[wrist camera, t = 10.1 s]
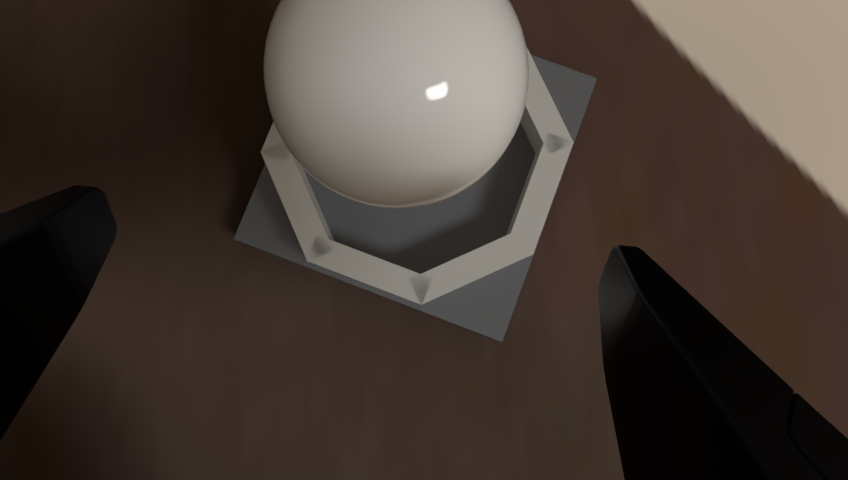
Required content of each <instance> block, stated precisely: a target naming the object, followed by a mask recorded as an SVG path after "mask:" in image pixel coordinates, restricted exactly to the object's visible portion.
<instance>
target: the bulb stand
mask: <svg viewBox="0 0 848 480" xmlns="http://www.w3.org/2000/svg"><path fill="white" fill-rule="evenodd" d="M526 48H527V46H526ZM527 54H528V65H529V82H528V92H527V98H526V103H525V108H524V111H523V115H522V118H521V121H520V123H519V126H518V128H517V131H516V133H515V135H514V137H513V139H512V141H511V142H510V144H509V146H508V147H507V149H506V150H505V152H504V153H503V155H502V156H501V157H500V159H499V160H498V161H497V162H496V164H495V165H494V166H493V167H492V168H491V169H490V170H489V171H488V172H487V173H486V174H485V175H484V176H483V177H482V178H481V179H479V180H478V181H477V182H476V183H474V184H473V185H472V186H470V187H469V188H467V189H466V190H464V191H462V192H461V193H459V194H457V195H455V196H453V197H451V198H449V199H446V200H444V201H441V202H438V203H435V204H432V205H428V206H423V207H418V208H410V209H386V208H378V207H373V206H368V205H364V204H361V203H358V202H355V201H352V200H349V199H347V198H345V197H343V196H341V195H339V194H337V193H335V192H333V191H331V190H330V189H328V188H327V187H325V186H324V185H322V184H321V183H320V182H318V181H317V180H316V179H315V178H313V177H312V176H311V175H310V174H309V173H308V172H307V171H306V170H305V169H304V168H303V167H302V166H301V165H300V164H299V163H298V162H297V160H296V159H295V158H294V157H293V155H292V154H291V153H290V151H289V150H288V148H287V147H286V145H285V144H284V142H283V140H282V138H281V137H280V135H279V133H278V131H277V128H276V126H275V124H274V121H273V124H272V126H271V128H270V131H269V133H268V136H267V138H266V140H265V143H264V145H263V148H262V150H261V151H260V153H261V154H262V156H263V159H264V161H265V165H264V167H263V170H262V172H261V174H260V177H259V179H258V182H257V184H256V186H255V189H254V191H253V194H252V196H251V198H250V201H249V203H248V206H247V208H246V210H245V213H244V215H243V218H242V220H241V222H240V225H239V227H238V230H237V232H236V234H235V237H234V239H235V240H237V241H240V242H243V243H245V244H248V245H250V246H253V247H256V248H258V249H261V250H263V251H266V252H269V253H271V254H274V255H277V256H279V257H282V258H284V259H287V260H290V261H292V262H295V263H297V264H300V265H303V266H305V267H308V268H310V269H313V270H316V271H318V272H321V273H323V274H326V275H329V276H331V277H334V278H336V279H339V280H342V281H344V282H347V283H350V284H352V285H355V286H357V287H360V288H363V289H365V290H368V291H370V292H373V293H376V294H378V295H381V296H383V297H386V298H389V299H391V300H394V301H396V302H399V303H402V304H404V305H407V306H409V307H412V308H415V309H417V310H420V311H423V312H425V313H428V314H430V315H433V316H436V317H438V318H441V319H443V320H446V321H449V322H451V323H454V324H456V325H459V326H462V327H464V328H467V329H469V330H472V331H475V332H477V333H480V334H482V335H485V336H488V337H490V338H493V339H496V340H498V341H501V342H502V341H503V338H504V335H505V332H506V330H507V327H508V324H509V321H510V319H511V316H512V313H513V310H514V308H515V305H516V302H517V299H518V296H519V294H520V291H521V288H522V285H523V283H524V280H525V277H526V274H527V271H528V269H529V266H530V263H531V260H532V258H533V255H534V252H535V249H536V247H537V244H538V241H539V238H540V235H541V233H542V230H543V227H544V224H545V222H546V219H547V216H548V213H549V210H550V208H551V205H552V202H553V199H554V197H555V194H556V191H557V188H558V186H559V183H560V180H561V177H562V174H563V172H564V169H565V166H566V163H567V161H568V158H569V155H570V152H571V150H572V147H573V144H574V141H575V138H576V136H577V133H578V130H579V127H580V125H581V122H582V119H583V116H584V113H585V111H586V108H587V105H588V102H589V100H590V97H591V94H592V91H593V89H594V86H595V83H596V80H597V78H594V77H592V76H589V75H586V74H583V73H581V72H578V71H575V70H572V69H569V68H567V67H564V66H561V65H558V64H555V63H553V62H550V61H547V60H544V59H541V58H539V57H536V56H533V55H530V53H529V51H528V49H527Z"/></svg>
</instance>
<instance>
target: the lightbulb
mask: <svg viewBox="0 0 848 480" xmlns="http://www.w3.org/2000/svg"><path fill="white" fill-rule="evenodd" d="M263 74H264V86H265V93H266V98H267V102H268V106H269V110H270V113H271V116H272V119H273V121H274V124H275V126H276V128H277V131H278V133H279V135H280V137H281V138H282V140H283V142H284V144H285V145H286V147H287V148H288V150H289V151H290V153H291V154H292V155H293V157H294V158H295V159H296V160H297V162H298V163H299V164H300V165H301V166H302V167H303V168H304V169H305V170H306V171H307V172H308V173H309V174H310V175H311V176H312V177H313V178H315V179H316V180H317V181H318V182H320V183H321V184H322V185H324V186H325V187H327V188H328V189H330V190H331V191H333V192H335V193H337V194H339V195H341V196H343V197H345V198H347V199H349V200H352V201H355V202H358V203H361V204H364V205H368V206H373V207H378V208H386V209H410V208H418V207H423V206H428V205H432V204H435V203H438V202H441V201H444V200H446V199H449V198H451V197H453V196H455V195H457V194H459V193H461V192H462V191H464V190H466V189H467V188H469V187H470V186H472V185H473V184H474V183H476V182H477V181H478V180H479V179H481V178H482V177H483V176H484V175H485V174H486V173H487V172H488V171H489V170H490V169H491V168H492V167H493V166H494V165H495V164H496V162H497V161H498V160H499V159H500V157H501V156H502V155H503V153H504V152H505V150H506V149H507V147H508V146H509V144H510V142H511V141H512V139H513V137H514V135H515V133H516V131H517V128H518V126H519V123H520V121H521V118H522V115H523V111H524V108H525V103H526V98H527V92H528V82H529V65H528V54H527V48H526V43H525V38H524V34H523V31H522V28H521V25H520V22H519V19H518V17H517V15H516V12H515V10H514V8H513V6H512V4H511V2H510V1H509V0H281V1H280V2H279V4H278V6H277V8H276V11H275V13H274V15H273V18H272V21H271V24H270V27H269V30H268V34H267V38H266V43H265V50H264V61H263Z"/></svg>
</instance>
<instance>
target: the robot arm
mask: <svg viewBox="0 0 848 480" xmlns="http://www.w3.org/2000/svg"><path fill="white" fill-rule="evenodd" d="M116 233H117V225H116V222H115V219H114V216H113V213H112V211H111V208H110V205H109V203H108V200H107V197H106V195H105V193H104V192H103V191H102V190H101V189H100V188H98V187H90V186H81V185H76V186H72V187H69V188H67V189H64V190H62V191H59V192H56V193H54V194H51V195H49V196H46V197H43V198H41V199H38V200H36V201H33V202H30V203H28V204H25V205H23V206H20V207H17V208H15V209H12V210H10V211H7V212H4V213H2V214H0V441H1V439H2V437H3V436H4V434H5V432H6V431H7V429H8V428H9V426H10V424H11V423H12V421H13V420H14V418H15V416H16V415H17V413H18V411H19V410H20V408H21V407H22V405H23V403H24V402H25V400H26V398H27V397H28V395H29V394H30V392H31V390H32V389H33V387H34V386H35V384H36V382H37V381H38V379H39V377H40V376H41V374H42V373H43V371H44V369H45V368H46V366H47V364H48V363H49V361H50V360H51V358H52V356H53V355H54V353H55V351H56V350H57V348H58V347H59V345H60V343H61V342H62V340H63V339H64V337H65V335H66V334H67V332H68V330H69V329H70V327H71V326H72V324H73V322H74V321H75V319H76V317H77V316H78V314H79V312H80V310H81V309H82V307H83V305H84V303H85V301H86V299H87V297H88V295H89V293H90V291H91V289H92V287H93V285H94V282H95V280H96V278H97V276H98V274H99V272H100V270H101V268H102V265H103V263H104V261H105V259H106V257H107V255H108V253H109V251H110V248H111V246H112V244H113V242H114V240H115V237H116ZM599 306H600V322H601V338H602V354H603V365H604V373H605V379H606V385H607V390H608V395H609V400H610V405H611V411H612V416H613V421H614V426H615V431H616V437H617V442H618V447H619V452H620V458H621V463H622V468H623V473H624V478H625V480H848V438H847V437H845V436H844V435H843V434H842V433H841V432H840V431H839V430H838V429H836V428H835V427H834V426H833V425H832V424H831V423H830V422H829V421H827V420H826V419H825V418H824V417H823V416H822V415H821V414H820V413H819V412H817V411H816V410H815V409H814V408H813V407H812V406H811V405H810V404H809V403H808V402H807V401H805V400H804V399H803V398H802V397H801V396H800V395H799V394H797V393H795V394H793V393H794V390H793V389H792V388H791V387H790V386H789V385H788V384H787V383H786V382H785V381H784V380H783V379H781V378H780V377H779V376H778V375H777V374H776V373H775V372H774V371H773V370H772V369H771V368H770V367H768V366H767V365H766V364H765V363H764V362H763V361H762V360H761V359H760V358H759V357H758V356H757V355H755V354H754V353H753V352H752V351H751V350H750V349H749V348H748V347H747V346H746V345H745V344H744V343H742V342H741V341H740V340H739V339H738V338H737V337H736V336H735V335H734V334H733V333H732V332H731V331H729V330H728V329H727V328H726V327H725V326H724V325H723V324H722V323H721V322H720V321H719V320H718V319H716V318H715V317H714V316H713V315H712V314H711V313H710V312H709V311H708V310H707V309H706V308H705V307H703V306H702V305H701V304H700V303H699V302H698V301H697V300H696V299H695V298H694V297H693V296H692V295H690V294H689V293H688V292H687V291H686V290H685V289H684V288H683V287H682V286H681V285H680V284H679V283H677V282H676V281H675V280H674V279H673V278H672V277H671V276H670V275H669V274H668V273H667V272H666V271H664V270H663V269H662V268H661V267H660V266H659V265H658V264H657V263H656V262H655V261H654V260H653V259H651V258H650V257H649V256H648V255H647V254H646V253H645V252H644V251H643V250H642V249H640V248H638V247H633V246H624V245H617V246H615V247H613V249H612V250H611V252H610V255H609V258H608V260H607V263H606V265H605V268H604V271H603V273H602V276H601V279H600V283H599Z"/></svg>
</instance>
